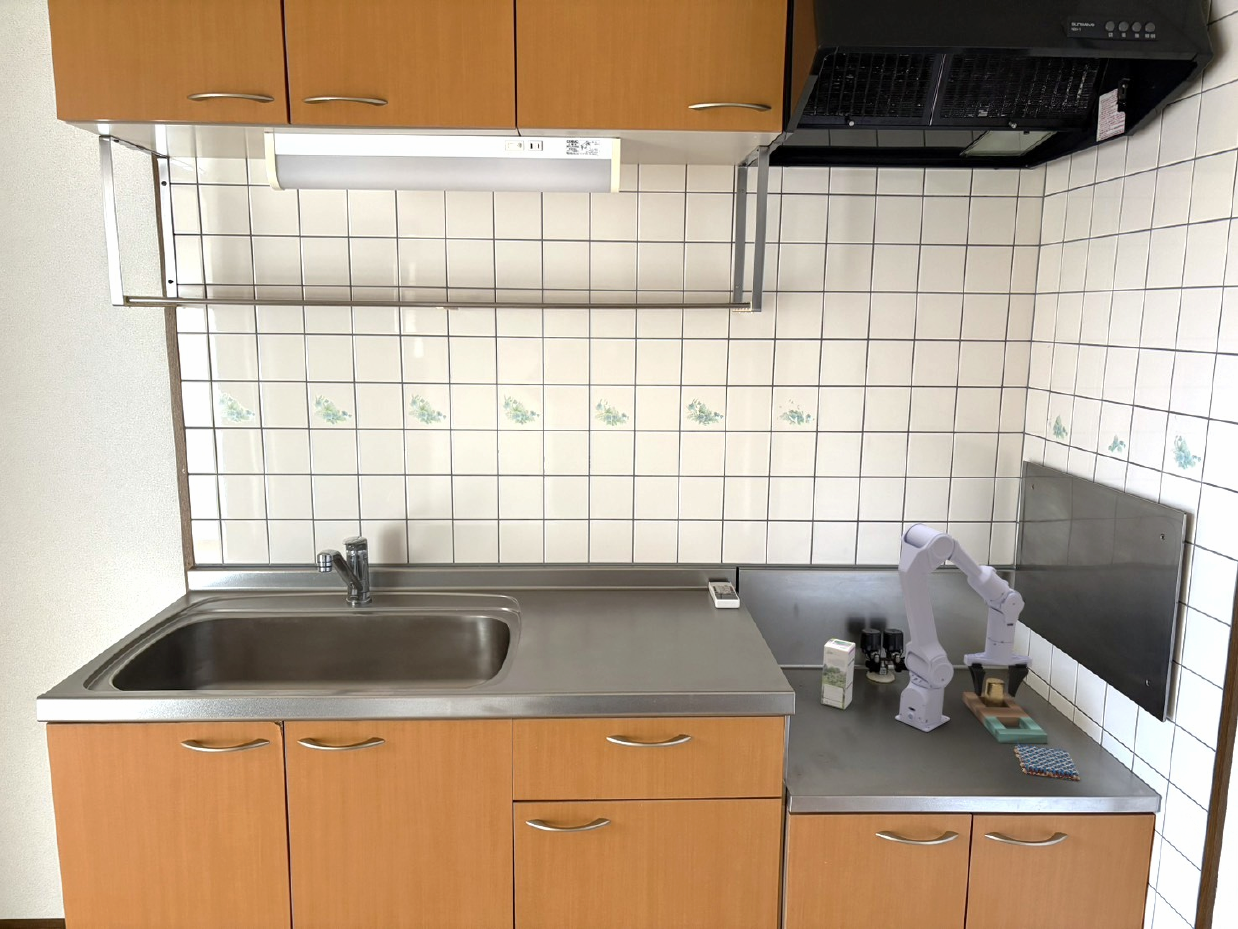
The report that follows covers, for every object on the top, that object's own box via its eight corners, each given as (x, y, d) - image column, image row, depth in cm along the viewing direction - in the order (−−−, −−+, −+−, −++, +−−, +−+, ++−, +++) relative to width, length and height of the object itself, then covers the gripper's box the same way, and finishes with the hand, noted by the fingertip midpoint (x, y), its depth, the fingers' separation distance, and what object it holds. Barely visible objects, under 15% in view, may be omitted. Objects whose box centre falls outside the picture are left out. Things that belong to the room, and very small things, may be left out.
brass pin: (996, 715, 191) (999, 686, 190) (980, 709, 194) (983, 681, 193) (1004, 711, 194) (1007, 682, 192) (988, 705, 197) (991, 676, 195)
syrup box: (852, 701, 197) (856, 642, 195) (844, 711, 192) (848, 650, 190) (828, 695, 200) (832, 636, 198) (819, 704, 195) (823, 644, 193)
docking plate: (1046, 743, 179) (1047, 734, 179) (999, 742, 179) (1000, 733, 179) (1005, 700, 199) (1005, 692, 198) (962, 700, 199) (963, 692, 199)
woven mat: (1067, 757, 175) (1068, 748, 174) (1081, 784, 165) (1082, 775, 164) (1012, 750, 177) (1013, 741, 177) (1022, 776, 167) (1023, 767, 167)
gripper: (1024, 632, 195) (1018, 687, 197) (960, 631, 195) (955, 686, 197) (1038, 644, 188) (1032, 701, 190) (973, 642, 188) (967, 700, 190)
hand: (994, 694), depth 193 cm, fingers open, 7 cm apart
